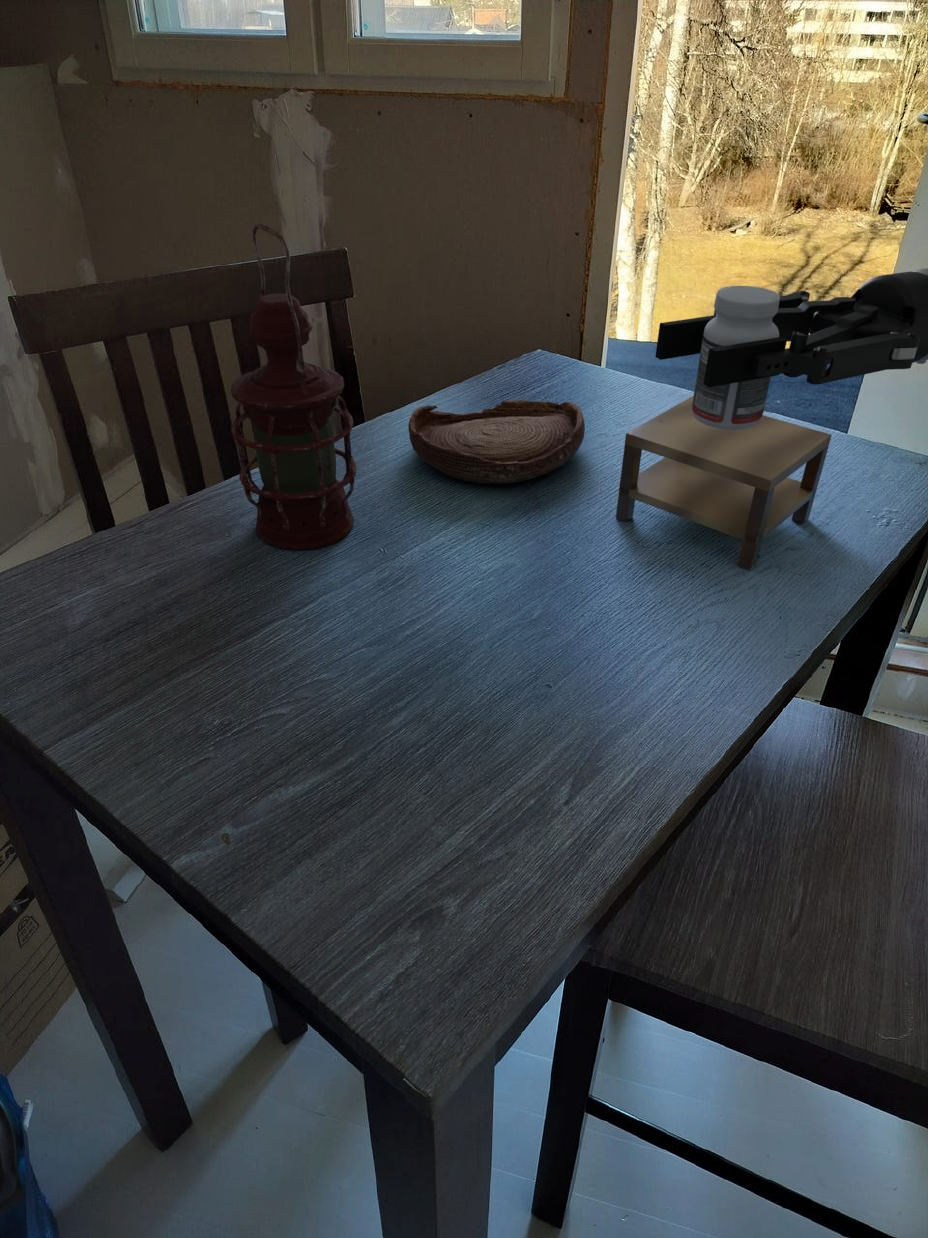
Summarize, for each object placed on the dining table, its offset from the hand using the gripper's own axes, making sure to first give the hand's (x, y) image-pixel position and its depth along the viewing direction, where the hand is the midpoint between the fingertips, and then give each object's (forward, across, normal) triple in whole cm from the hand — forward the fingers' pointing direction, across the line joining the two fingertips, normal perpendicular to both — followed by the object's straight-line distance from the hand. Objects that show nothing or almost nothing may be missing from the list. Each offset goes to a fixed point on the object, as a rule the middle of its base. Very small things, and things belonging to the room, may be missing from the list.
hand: (684, 354), depth 65 cm
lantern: (+25, +28, -24) cm, 45 cm away
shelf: (-16, +12, -24) cm, 32 cm away
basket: (-2, +36, -24) cm, 44 cm away
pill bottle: (-5, 0, -6) cm, 8 cm away
